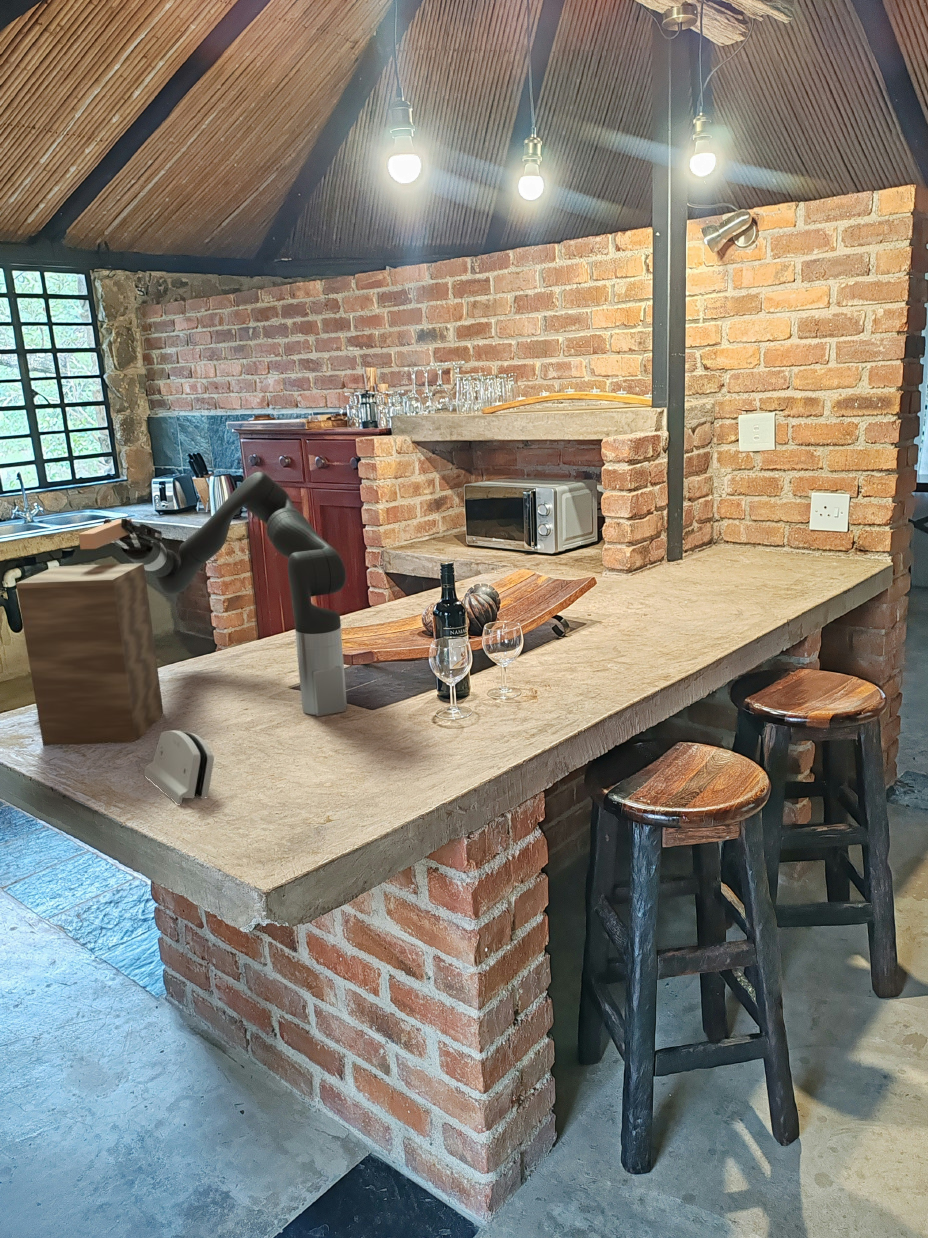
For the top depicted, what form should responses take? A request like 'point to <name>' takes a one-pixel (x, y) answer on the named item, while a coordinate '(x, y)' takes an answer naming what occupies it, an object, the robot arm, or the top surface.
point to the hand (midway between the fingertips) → (114, 522)
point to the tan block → (102, 535)
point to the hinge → (181, 765)
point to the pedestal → (91, 653)
